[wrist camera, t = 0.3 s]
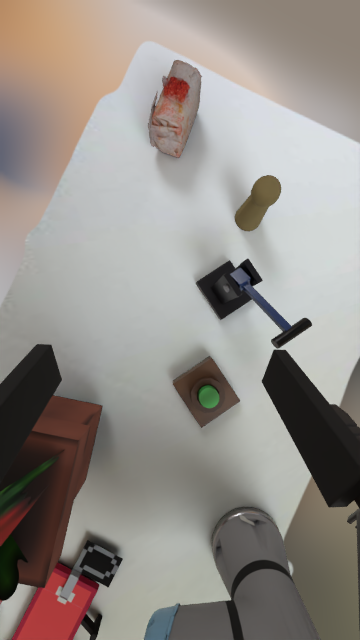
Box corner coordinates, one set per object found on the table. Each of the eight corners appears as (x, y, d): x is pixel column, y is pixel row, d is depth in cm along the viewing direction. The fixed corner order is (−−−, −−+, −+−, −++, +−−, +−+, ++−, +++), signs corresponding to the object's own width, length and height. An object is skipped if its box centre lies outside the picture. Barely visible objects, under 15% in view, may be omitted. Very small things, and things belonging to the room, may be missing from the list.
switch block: (236, 396, 46) (243, 404, 41) (199, 421, 45) (202, 432, 41) (209, 355, 46) (213, 359, 41) (172, 380, 45) (172, 386, 41)
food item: (181, 165, 47) (183, 122, 37) (149, 153, 47) (142, 107, 37) (200, 111, 47) (207, 55, 37) (168, 99, 47) (167, 39, 37)
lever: (308, 328, 31) (314, 322, 29) (276, 350, 31) (280, 346, 28) (247, 269, 37) (249, 261, 35) (220, 287, 37) (220, 280, 35)
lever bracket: (252, 298, 46) (282, 287, 33) (220, 319, 46) (237, 317, 33) (228, 262, 46) (248, 237, 34) (195, 283, 46) (203, 267, 33)
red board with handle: (131, 557, 44) (70, 525, 44) (128, 573, 41) (62, 539, 41) (66, 687, 43) (4, 653, 43) (58, 712, 40) (-8, 677, 40)
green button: (221, 397, 41) (223, 400, 40) (205, 408, 41) (206, 412, 39) (210, 381, 41) (212, 383, 40) (194, 392, 41) (195, 395, 40)
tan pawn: (262, 208, 47) (289, 172, 36) (257, 233, 47) (283, 205, 36) (237, 203, 47) (257, 165, 36) (232, 228, 47) (250, 197, 36)
